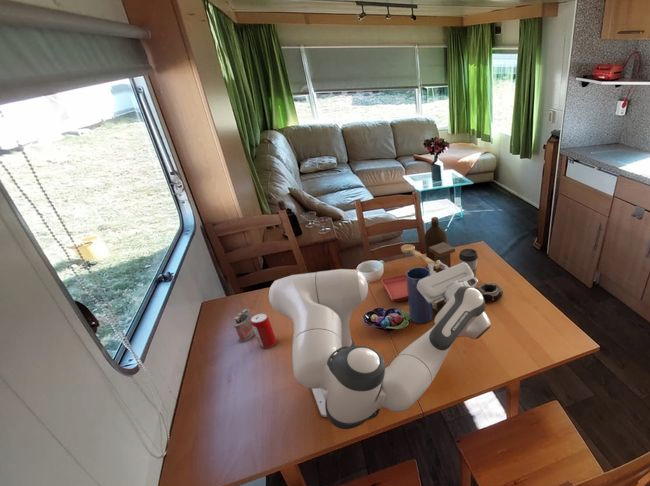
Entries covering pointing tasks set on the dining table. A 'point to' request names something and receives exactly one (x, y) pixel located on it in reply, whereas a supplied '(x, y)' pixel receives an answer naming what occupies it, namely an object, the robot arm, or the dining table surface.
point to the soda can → (263, 330)
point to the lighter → (244, 325)
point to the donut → (490, 291)
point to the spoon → (418, 254)
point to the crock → (418, 296)
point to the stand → (442, 254)
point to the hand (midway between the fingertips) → (433, 262)
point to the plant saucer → (396, 287)
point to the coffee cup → (469, 259)
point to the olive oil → (434, 237)
